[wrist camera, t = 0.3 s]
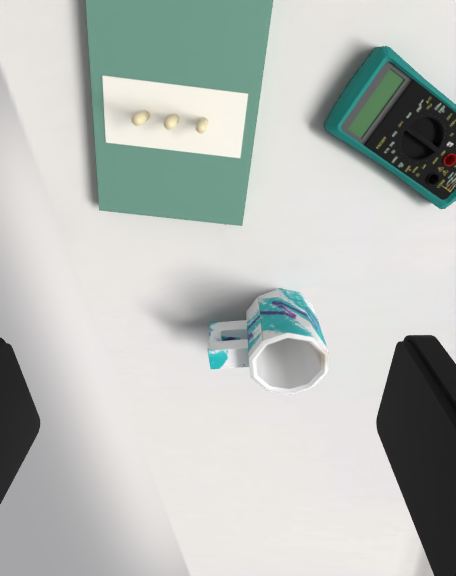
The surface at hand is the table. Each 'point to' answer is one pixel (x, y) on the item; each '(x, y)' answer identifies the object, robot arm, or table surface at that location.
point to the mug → (273, 343)
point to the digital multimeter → (400, 124)
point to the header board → (176, 104)
